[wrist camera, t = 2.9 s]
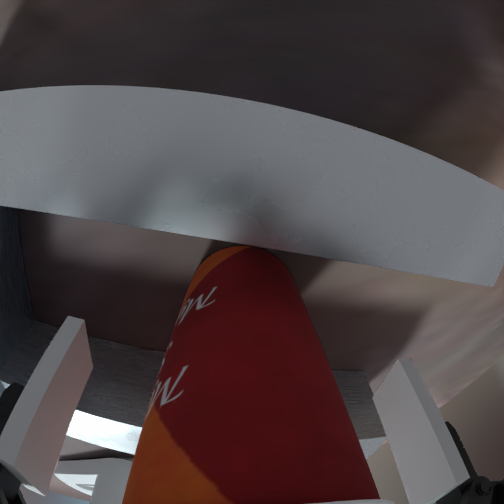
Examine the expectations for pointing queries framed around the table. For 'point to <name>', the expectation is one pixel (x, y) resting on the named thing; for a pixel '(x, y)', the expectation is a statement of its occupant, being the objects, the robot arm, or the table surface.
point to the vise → (222, 213)
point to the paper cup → (247, 399)
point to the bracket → (97, 478)
